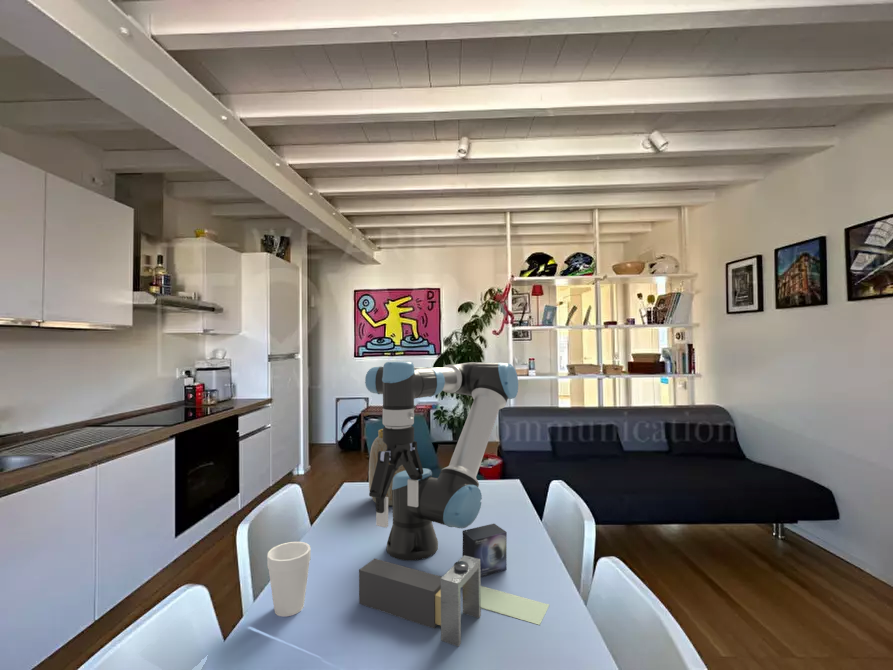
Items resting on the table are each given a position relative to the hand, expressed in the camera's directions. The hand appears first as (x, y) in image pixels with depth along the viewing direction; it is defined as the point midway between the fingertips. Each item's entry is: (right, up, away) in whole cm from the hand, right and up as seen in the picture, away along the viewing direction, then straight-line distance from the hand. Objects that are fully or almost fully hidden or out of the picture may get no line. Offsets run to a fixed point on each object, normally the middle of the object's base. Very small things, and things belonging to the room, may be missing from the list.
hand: (398, 515), depth 103 cm
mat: (+25, -19, -3) cm, 32 cm away
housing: (+15, -19, -11) cm, 27 cm away
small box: (+22, -20, +12) cm, 32 cm away
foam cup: (-25, -20, -4) cm, 32 cm away
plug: (+1, -20, -4) cm, 20 cm away
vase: (-10, -21, +65) cm, 69 cm away
